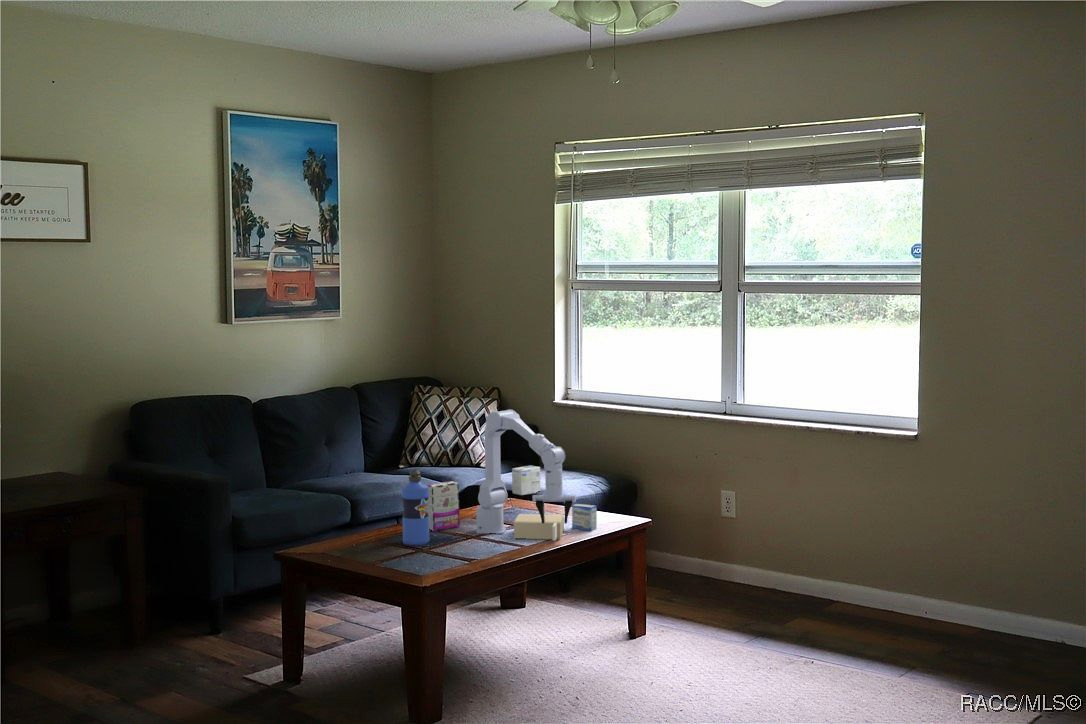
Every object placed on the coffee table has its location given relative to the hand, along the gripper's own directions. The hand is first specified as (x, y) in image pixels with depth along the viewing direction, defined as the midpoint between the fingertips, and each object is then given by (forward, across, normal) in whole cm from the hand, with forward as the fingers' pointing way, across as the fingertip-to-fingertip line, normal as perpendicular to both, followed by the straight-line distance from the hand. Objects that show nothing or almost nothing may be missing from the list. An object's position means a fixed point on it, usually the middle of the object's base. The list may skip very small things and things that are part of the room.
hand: (554, 522), depth 361 cm
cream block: (+7, -7, +2) cm, 9 cm away
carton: (+7, -7, +11) cm, 15 cm away
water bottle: (+7, -48, -2) cm, 48 cm away
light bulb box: (+7, -21, +87) cm, 90 cm away
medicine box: (+7, +8, +21) cm, 24 cm away
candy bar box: (+7, -43, +19) cm, 47 cm away
